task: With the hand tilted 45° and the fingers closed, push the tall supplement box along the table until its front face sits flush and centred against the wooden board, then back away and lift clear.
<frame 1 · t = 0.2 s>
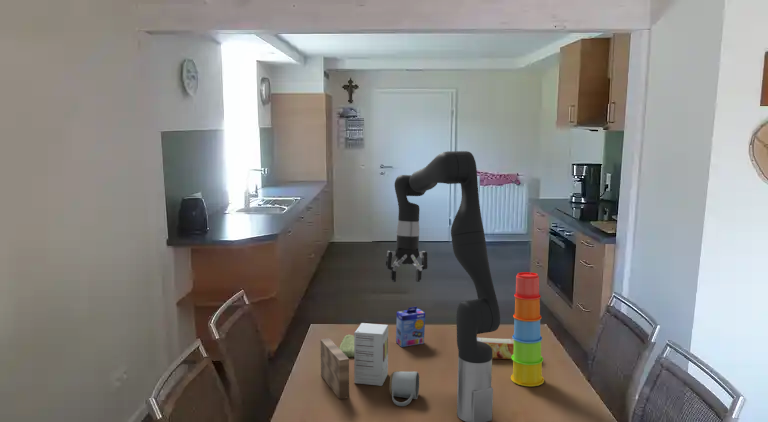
hand: (405, 281, 191), 28 cm above the table, tool pointing down, fingers open, 8 cm apart
snack package: (501, 357, 198), on the table
wooden board: (334, 385, 175), on the table
supplement box: (371, 379, 180), on the table
washcloth: (357, 350, 204), on the table
ceramic mug: (404, 399, 167), on the table
ink cartridge box: (410, 343, 210), on the table
stacking cups: (527, 381, 179), on the table
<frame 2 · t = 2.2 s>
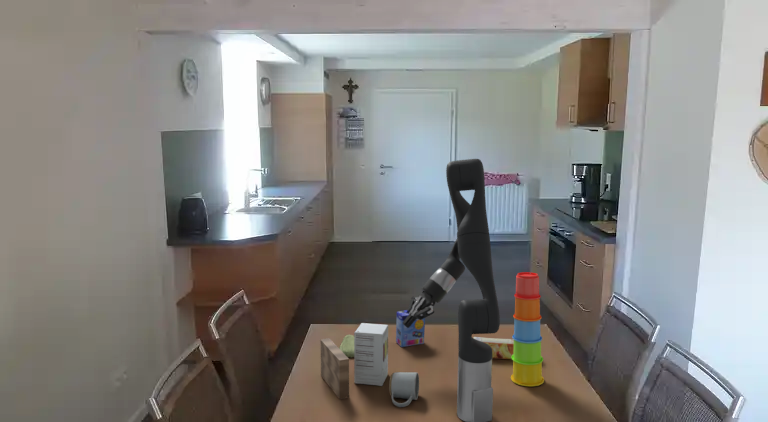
hand: (405, 325, 182), 16 cm above the table, tool tilted 45°, fingers closed
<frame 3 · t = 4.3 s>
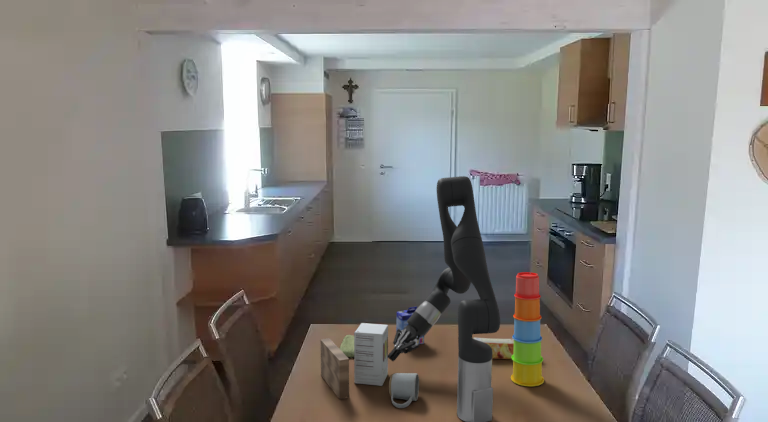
hand: (390, 359, 182), 5 cm above the table, tool tilted 45°, fingers closed
supplement box: (371, 379, 180), on the table, touching gripper
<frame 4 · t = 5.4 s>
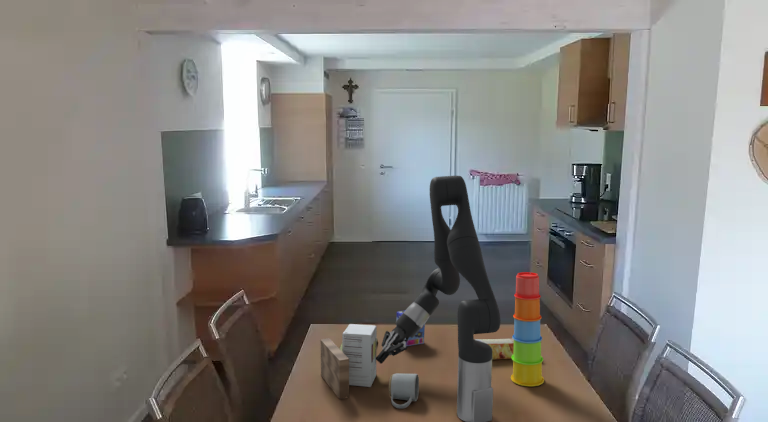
hand: (378, 361, 180), 5 cm above the table, tool tilted 45°, fingers closed
supplement box: (359, 380, 179), on the table, touching gripper
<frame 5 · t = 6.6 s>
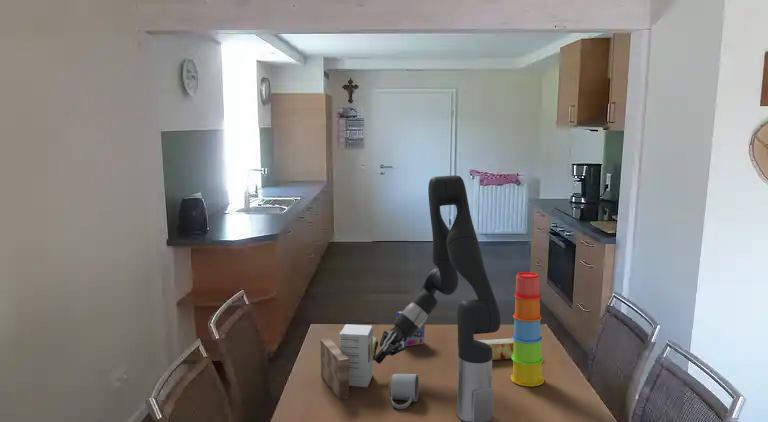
hand: (376, 361, 180), 5 cm above the table, tool tilted 45°, fingers closed
supplement box: (356, 380, 179), on the table
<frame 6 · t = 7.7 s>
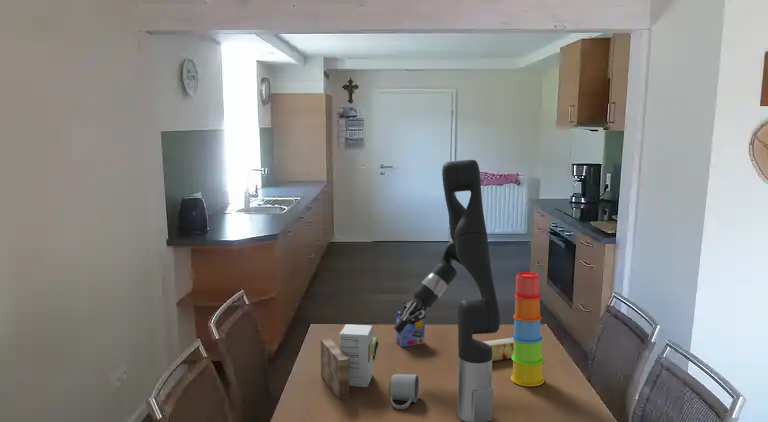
hand: (396, 330, 181), 15 cm above the table, tool tilted 45°, fingers closed
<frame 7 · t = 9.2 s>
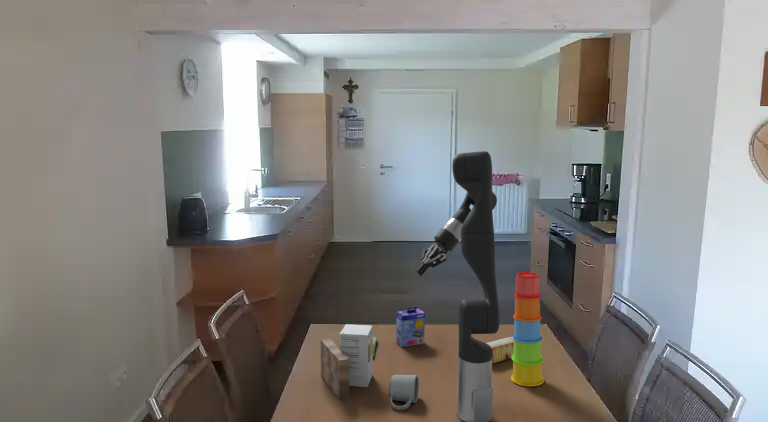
hand: (418, 273, 185), 32 cm above the table, tool tilted 45°, fingers closed
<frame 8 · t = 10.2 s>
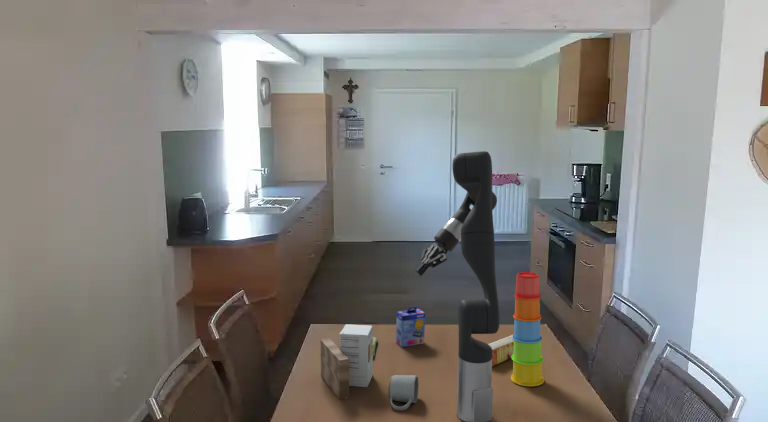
hand: (418, 273, 185), 32 cm above the table, tool tilted 45°, fingers closed
at the end: supplement box 1.2 cm from the target spot on the table beside the wooden board, on the table; supplement box tilted 0°; supplement box moved 4.9 cm from its start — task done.
